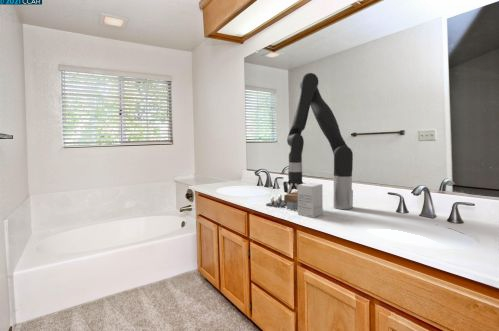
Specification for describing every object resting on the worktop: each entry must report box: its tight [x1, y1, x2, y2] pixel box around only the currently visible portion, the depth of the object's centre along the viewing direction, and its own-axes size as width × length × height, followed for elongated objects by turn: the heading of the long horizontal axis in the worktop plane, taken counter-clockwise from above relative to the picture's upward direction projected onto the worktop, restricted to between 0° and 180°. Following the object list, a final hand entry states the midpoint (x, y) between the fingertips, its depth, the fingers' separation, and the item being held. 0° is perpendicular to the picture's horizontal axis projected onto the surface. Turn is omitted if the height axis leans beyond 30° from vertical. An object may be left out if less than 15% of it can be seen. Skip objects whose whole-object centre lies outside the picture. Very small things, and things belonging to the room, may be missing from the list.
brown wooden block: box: [283, 190, 298, 203], centre depth 151 cm, size 14×6×4 cm, turn 144°
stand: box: [286, 202, 298, 211], centre depth 151 cm, size 14×3×4 cm, turn 144°
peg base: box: [265, 194, 287, 208], centre depth 158 cm, size 9×14×4 cm, turn 145°
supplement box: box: [297, 182, 324, 218], centre depth 134 cm, size 9×9×15 cm
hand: (295, 200), depth 151 cm, fingers closed on brown wooden block, 6 cm apart
